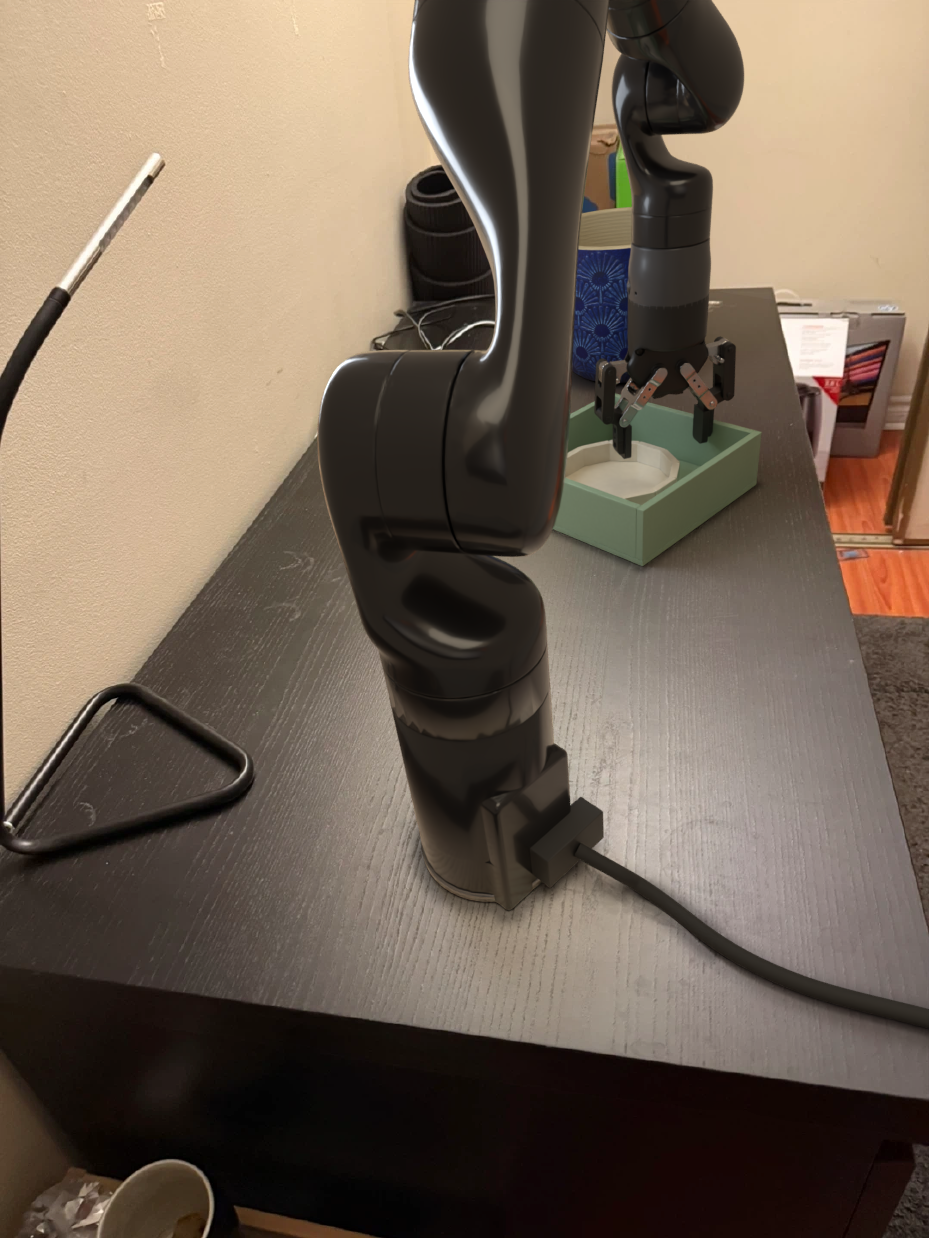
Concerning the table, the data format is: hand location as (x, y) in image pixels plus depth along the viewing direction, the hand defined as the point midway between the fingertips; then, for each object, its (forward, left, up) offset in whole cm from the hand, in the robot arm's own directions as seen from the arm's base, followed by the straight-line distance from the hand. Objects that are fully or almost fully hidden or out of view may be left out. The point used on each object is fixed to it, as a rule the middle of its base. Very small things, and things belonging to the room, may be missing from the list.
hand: (662, 448), depth 89 cm
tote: (+2, +4, -5) cm, 6 cm away
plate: (+2, +5, -4) cm, 7 cm away
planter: (+25, -24, -5) cm, 35 cm away
